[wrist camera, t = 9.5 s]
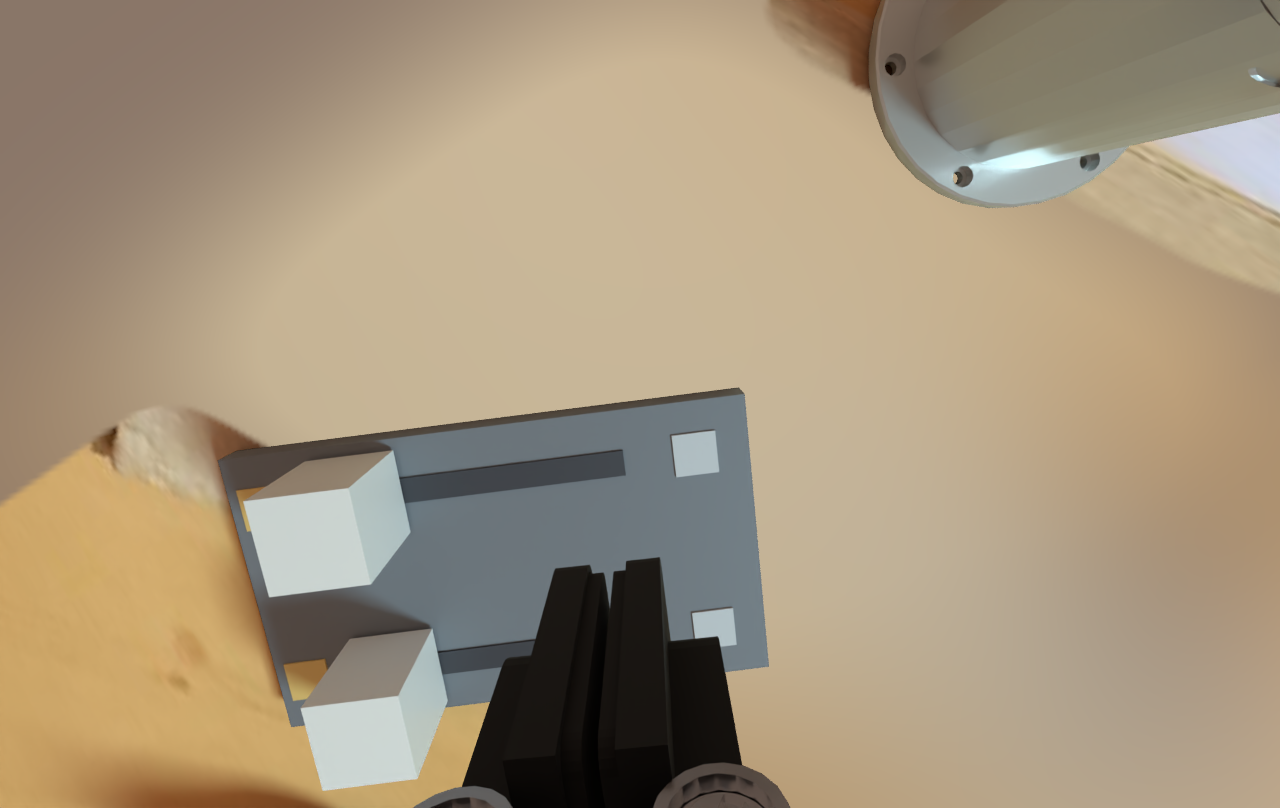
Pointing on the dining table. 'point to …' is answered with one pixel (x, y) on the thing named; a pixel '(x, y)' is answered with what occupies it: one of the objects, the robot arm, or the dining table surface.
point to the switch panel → (530, 534)
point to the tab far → (376, 710)
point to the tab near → (328, 523)
